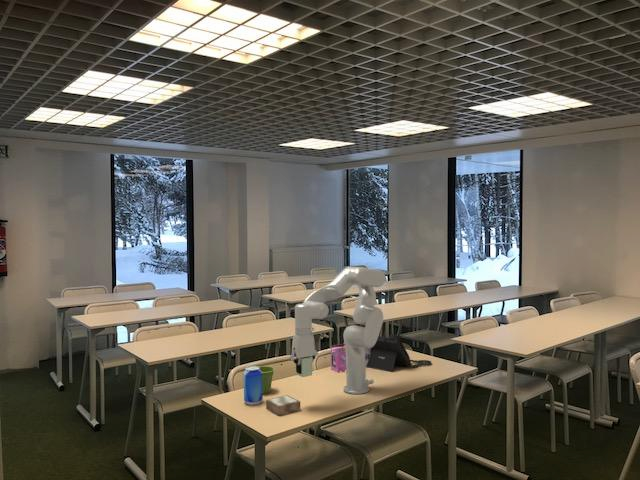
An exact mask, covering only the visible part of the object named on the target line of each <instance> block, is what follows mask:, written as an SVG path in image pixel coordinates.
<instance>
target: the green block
mask: <svg viewBox="0 0 640 480" xmlns="http://www.w3.org/2000/svg"><path fill="white" fill-rule="evenodd" d="M300 365H301V374H299V373H297V372H296V375H297V376H299V377H301V378H306V377H310V376H313V363H312V357H305V358H301V363H300Z"/></svg>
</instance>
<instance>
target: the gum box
mask: <svg viewBox="0 0 640 480" xmlns="http://www.w3.org/2000/svg"><path fill="white" fill-rule="evenodd" d="M364 350H365V357H366V366H367V363H368V360H369V357H370V354H371V353H370V351H371V349H370V348H364ZM331 369H333V370H335V371H334V372H336V371H337V372H336V373H341V372H340V371H343V372H346V371H345V370H346V348H345V343H341V344H334V345H331V346H330V370H331ZM333 370H332V371H333Z"/></svg>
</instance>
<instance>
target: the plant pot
mask: <svg viewBox="0 0 640 480" xmlns="http://www.w3.org/2000/svg"><path fill="white" fill-rule="evenodd" d="M258 367H260V370H261V372H262V395H264V394H268V393H269V392H271V389H272V381H273V376H274V372H275V370H276V369H275V367H274V366H269V365H261V366H260V365H259V366H258Z"/></svg>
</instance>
